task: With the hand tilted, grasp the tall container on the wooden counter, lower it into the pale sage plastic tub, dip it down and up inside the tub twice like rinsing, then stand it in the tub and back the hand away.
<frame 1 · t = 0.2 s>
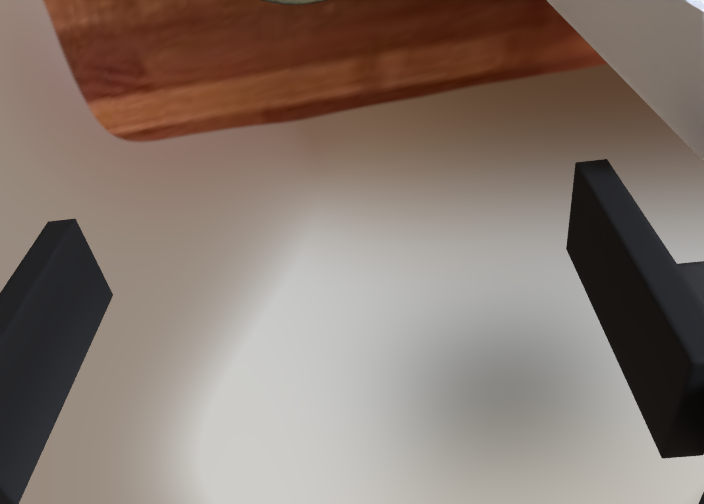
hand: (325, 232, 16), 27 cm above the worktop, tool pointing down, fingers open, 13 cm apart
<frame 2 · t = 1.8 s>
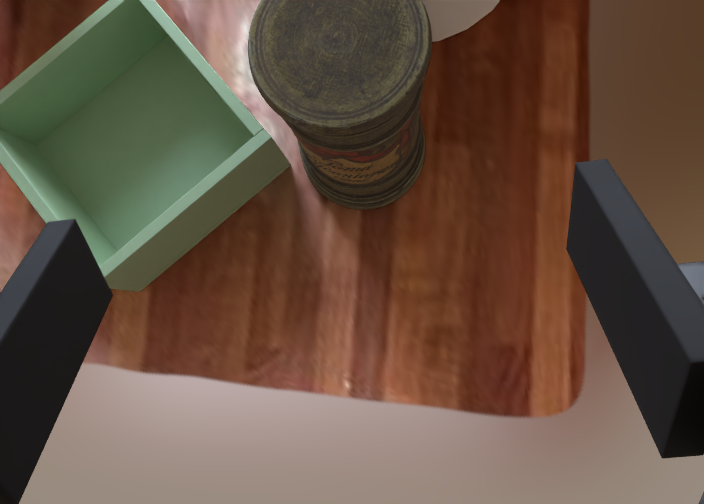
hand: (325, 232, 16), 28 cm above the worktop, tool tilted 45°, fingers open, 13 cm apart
container: (363, 151, 45), on the worktop
tub: (157, 156, 46), on the worktop
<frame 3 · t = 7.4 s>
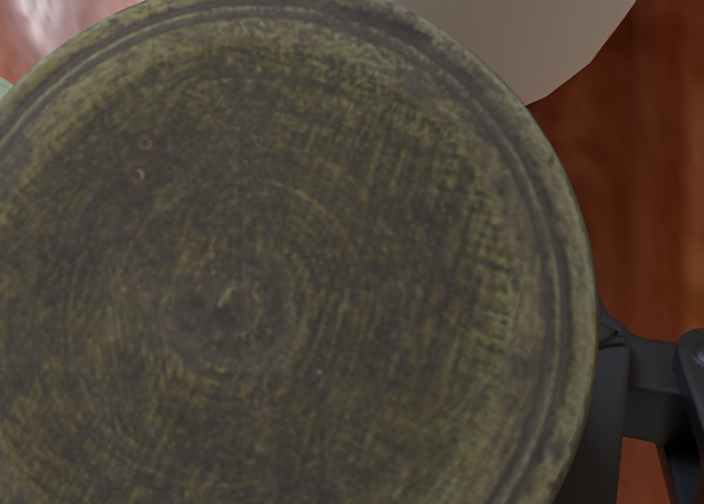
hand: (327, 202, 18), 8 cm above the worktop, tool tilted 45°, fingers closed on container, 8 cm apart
container: (359, 322, 25), on the worktop, touching gripper
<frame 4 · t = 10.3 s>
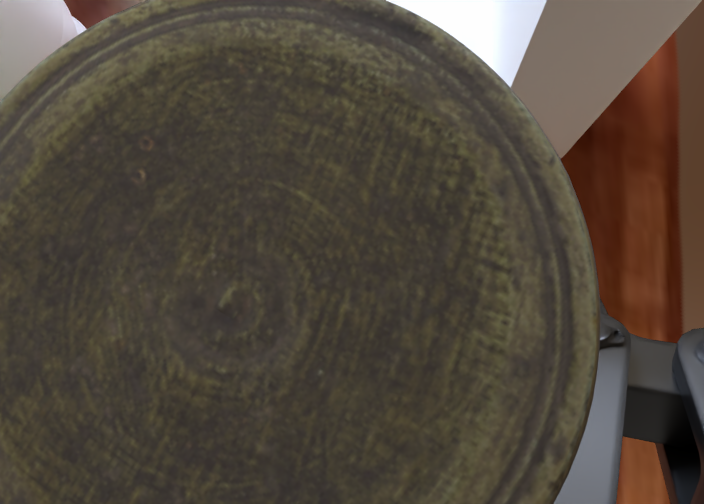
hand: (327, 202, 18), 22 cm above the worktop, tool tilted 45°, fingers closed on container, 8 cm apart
container: (359, 322, 25), point 14 cm above the worktop, touching gripper
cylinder: (462, 68, 40), on the worktop
jar: (44, 69, 43), on the worktop
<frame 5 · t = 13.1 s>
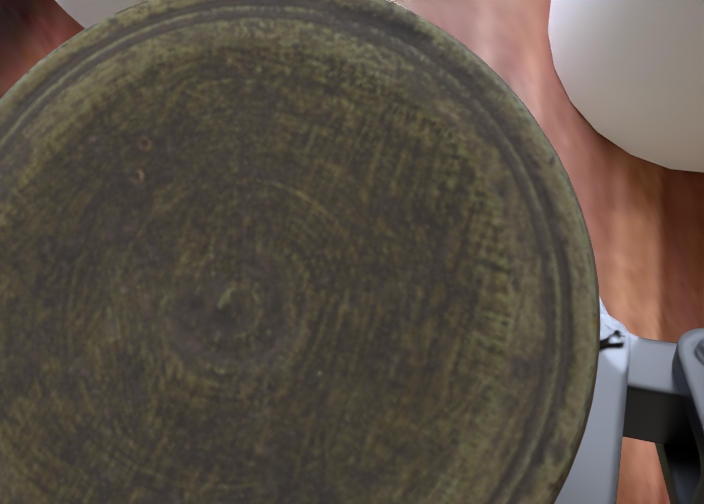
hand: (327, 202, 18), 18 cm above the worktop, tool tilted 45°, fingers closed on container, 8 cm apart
container: (359, 322, 25), point 10 cm above the worktop, touching gripper
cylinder: (700, 27, 35), on the worktop
jar: (210, 30, 38), on the worktop
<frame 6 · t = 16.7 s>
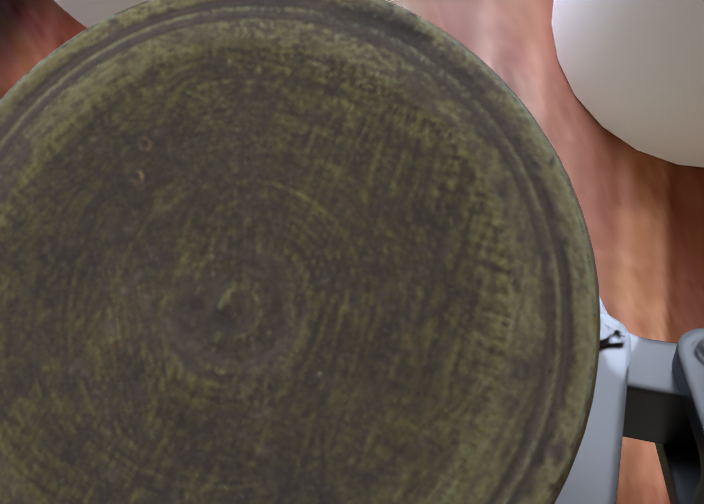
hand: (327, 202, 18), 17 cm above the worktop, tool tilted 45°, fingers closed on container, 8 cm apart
container: (359, 322, 25), point 9 cm above the worktop, touching gripper
jar: (205, 22, 37), on the worktop
when the fingers open (8 cm above the worktop, at t = 19.2 s): container stays where it is, resting on tub.
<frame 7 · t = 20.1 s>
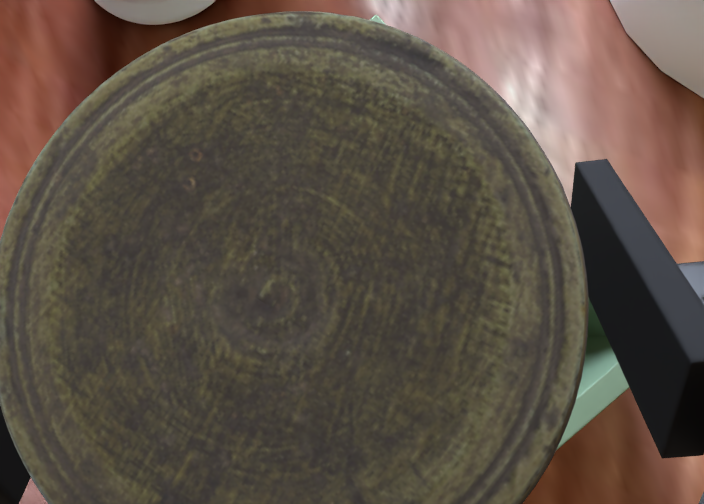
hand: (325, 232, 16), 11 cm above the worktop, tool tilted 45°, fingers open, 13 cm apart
container: (365, 319, 26), point 1 cm above the worktop, touching tub
tub: (365, 317, 27), on the worktop
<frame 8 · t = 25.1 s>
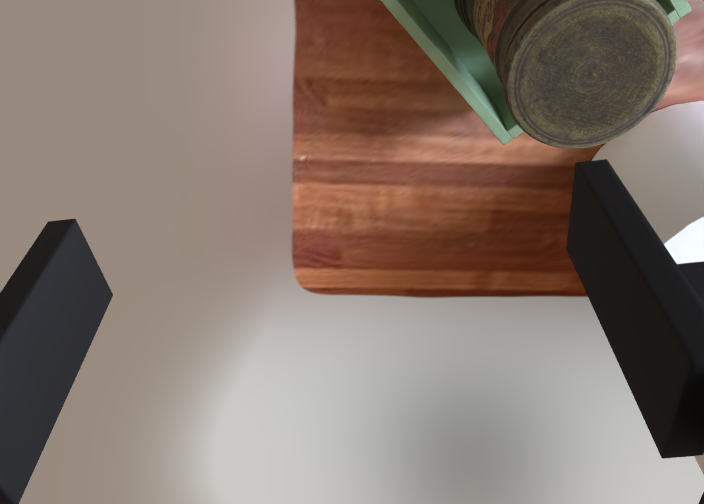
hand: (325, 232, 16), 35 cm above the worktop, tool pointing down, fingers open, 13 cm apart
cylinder: (669, 188, 57), on the worktop
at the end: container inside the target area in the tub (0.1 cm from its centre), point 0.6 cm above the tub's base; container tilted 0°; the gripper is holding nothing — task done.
